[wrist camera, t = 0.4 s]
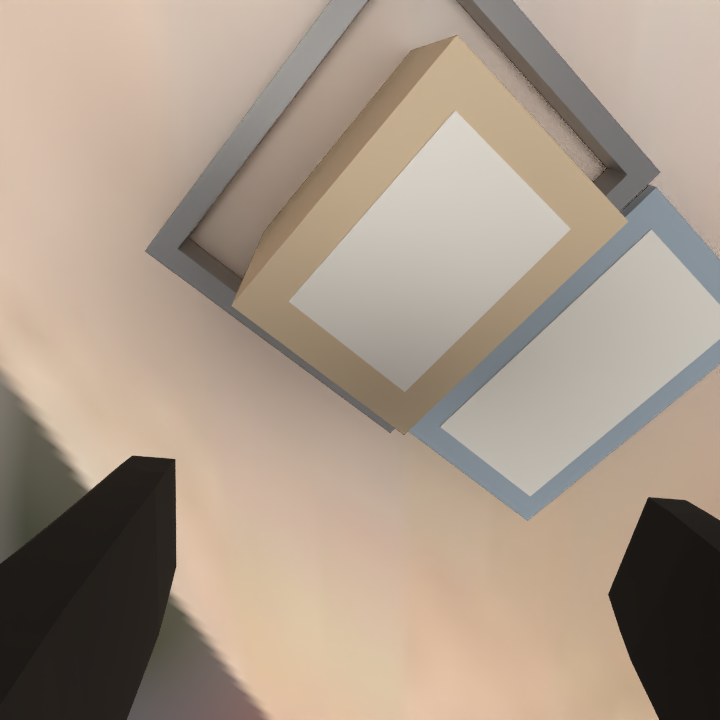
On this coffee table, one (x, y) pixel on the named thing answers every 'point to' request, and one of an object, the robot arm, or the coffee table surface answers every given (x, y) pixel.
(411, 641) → the coffee table surface
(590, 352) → the pad
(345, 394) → the grey square frame
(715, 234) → the coffee table surface
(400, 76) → the box
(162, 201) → the coffee table surface
